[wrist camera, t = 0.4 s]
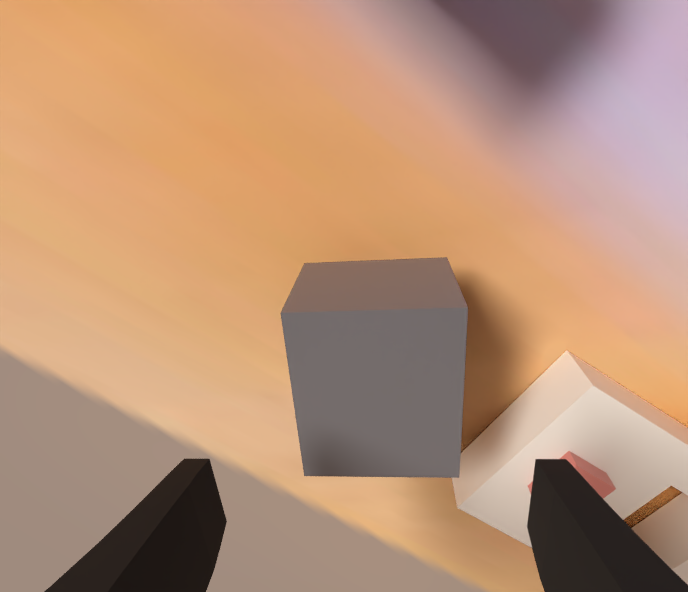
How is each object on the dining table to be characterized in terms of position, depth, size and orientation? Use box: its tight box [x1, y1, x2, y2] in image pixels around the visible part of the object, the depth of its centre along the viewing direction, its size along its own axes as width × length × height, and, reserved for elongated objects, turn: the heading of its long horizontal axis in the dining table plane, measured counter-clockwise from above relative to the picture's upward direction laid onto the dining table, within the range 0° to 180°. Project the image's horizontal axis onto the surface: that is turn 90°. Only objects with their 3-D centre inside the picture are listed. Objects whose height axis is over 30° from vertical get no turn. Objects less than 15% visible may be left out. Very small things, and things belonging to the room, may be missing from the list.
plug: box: [281, 257, 468, 478], centre depth 15 cm, size 5×6×6 cm
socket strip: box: [452, 350, 688, 584], centre depth 20 cm, size 20×8×3 cm, turn 58°
